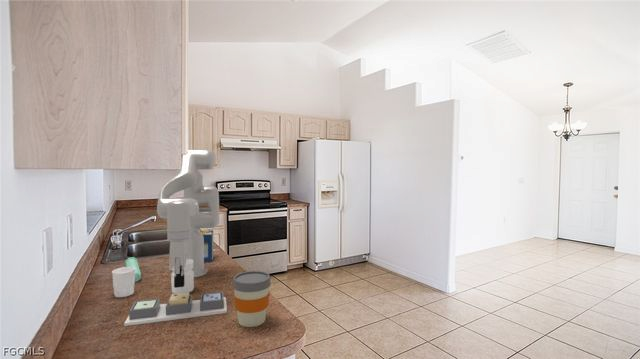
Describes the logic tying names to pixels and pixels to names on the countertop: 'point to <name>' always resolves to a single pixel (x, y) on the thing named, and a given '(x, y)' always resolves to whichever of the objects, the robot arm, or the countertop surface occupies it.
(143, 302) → the button
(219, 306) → the button panel
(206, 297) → the button
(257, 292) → the reusable coffee cup
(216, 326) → the countertop surface
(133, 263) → the container
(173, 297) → the button
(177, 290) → the vase
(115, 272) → the white cup
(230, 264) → the countertop surface
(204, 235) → the protein box
